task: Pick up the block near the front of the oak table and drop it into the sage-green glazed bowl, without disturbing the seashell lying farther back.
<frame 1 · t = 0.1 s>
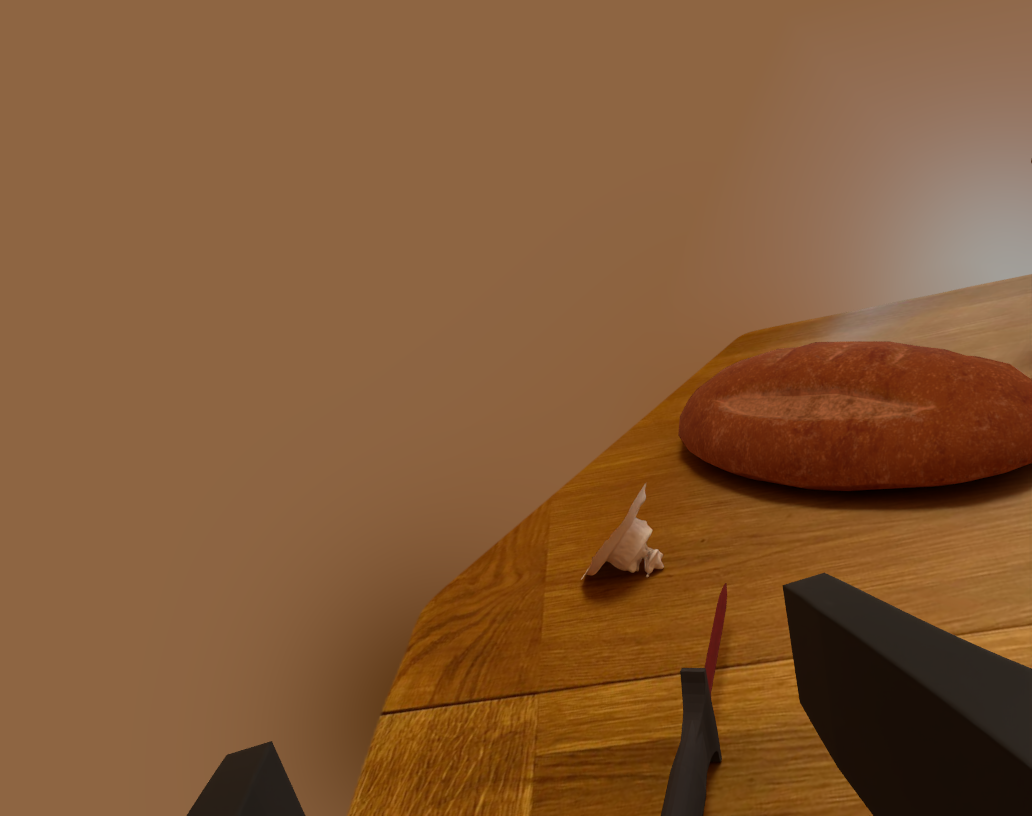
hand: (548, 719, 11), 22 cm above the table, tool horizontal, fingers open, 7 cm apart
knife: (710, 760, 39), on the table
bread: (849, 447, 70), on the table
seashell: (625, 572, 59), on the table
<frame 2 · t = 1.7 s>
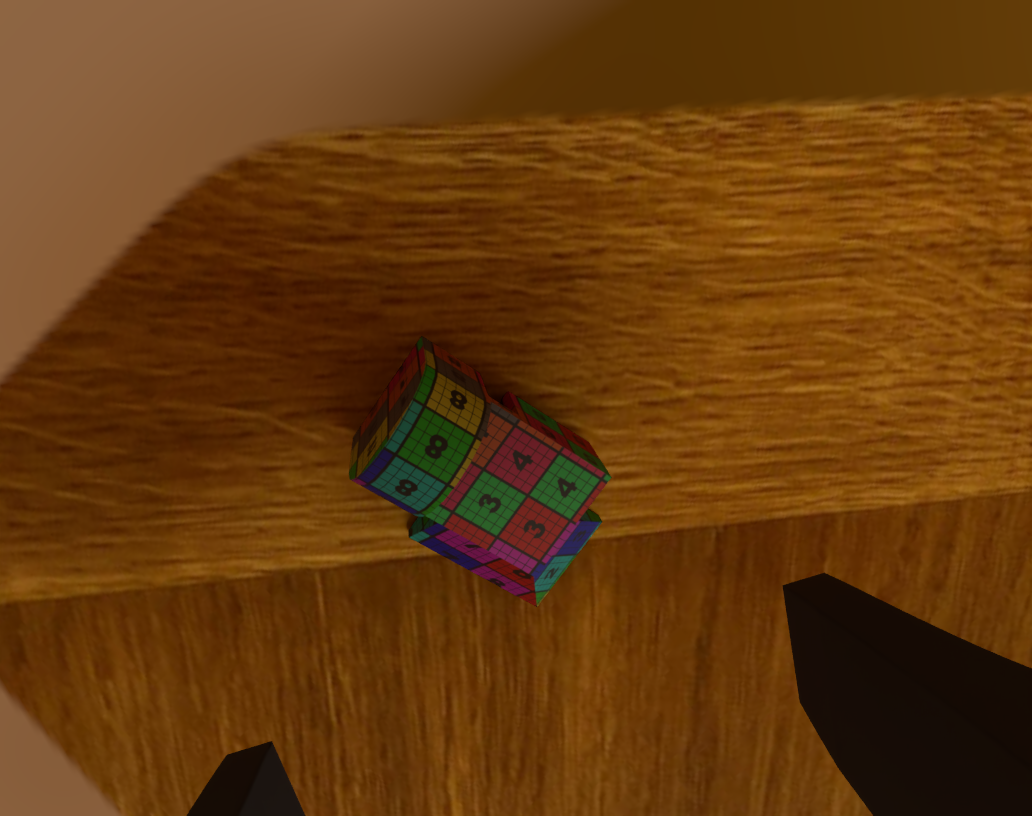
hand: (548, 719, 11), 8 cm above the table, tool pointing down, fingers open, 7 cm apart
block: (481, 473, 19), on the table
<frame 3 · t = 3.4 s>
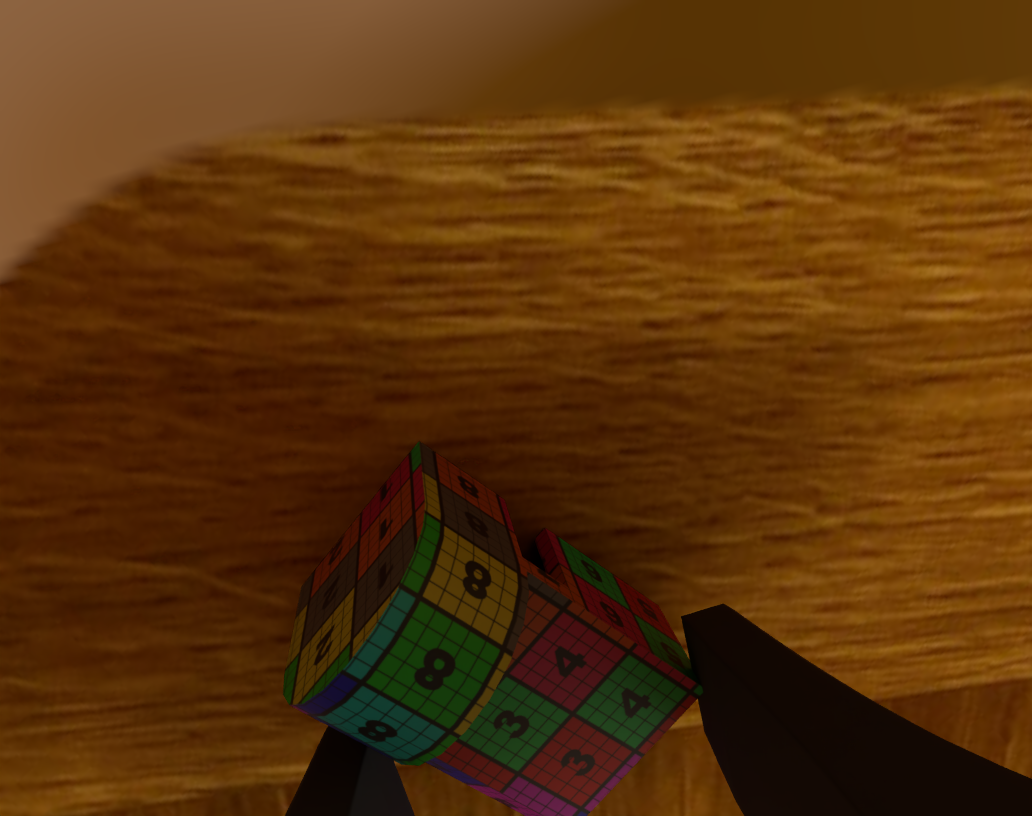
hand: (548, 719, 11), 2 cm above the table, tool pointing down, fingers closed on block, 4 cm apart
block: (493, 641, 13), on the table, touching gripper
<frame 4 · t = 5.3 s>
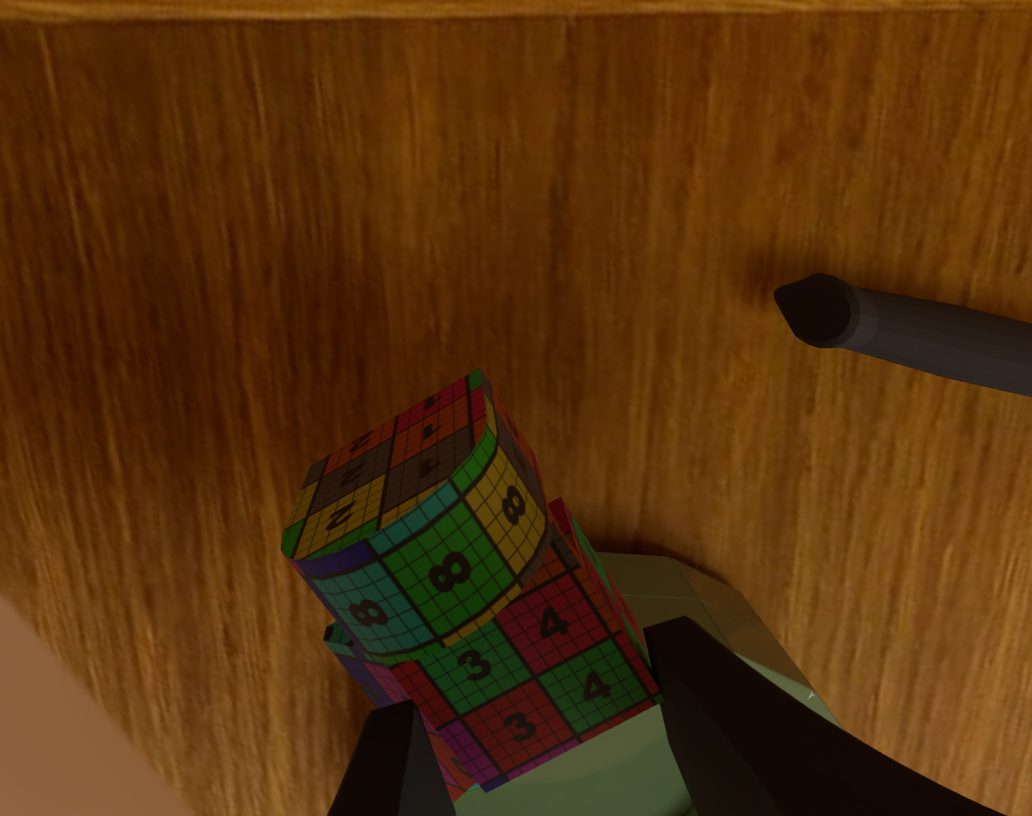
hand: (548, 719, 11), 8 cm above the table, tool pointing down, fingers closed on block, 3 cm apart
block: (465, 590, 12), point 6 cm above the table, touching gripper
bowl: (581, 724, 22), on the table
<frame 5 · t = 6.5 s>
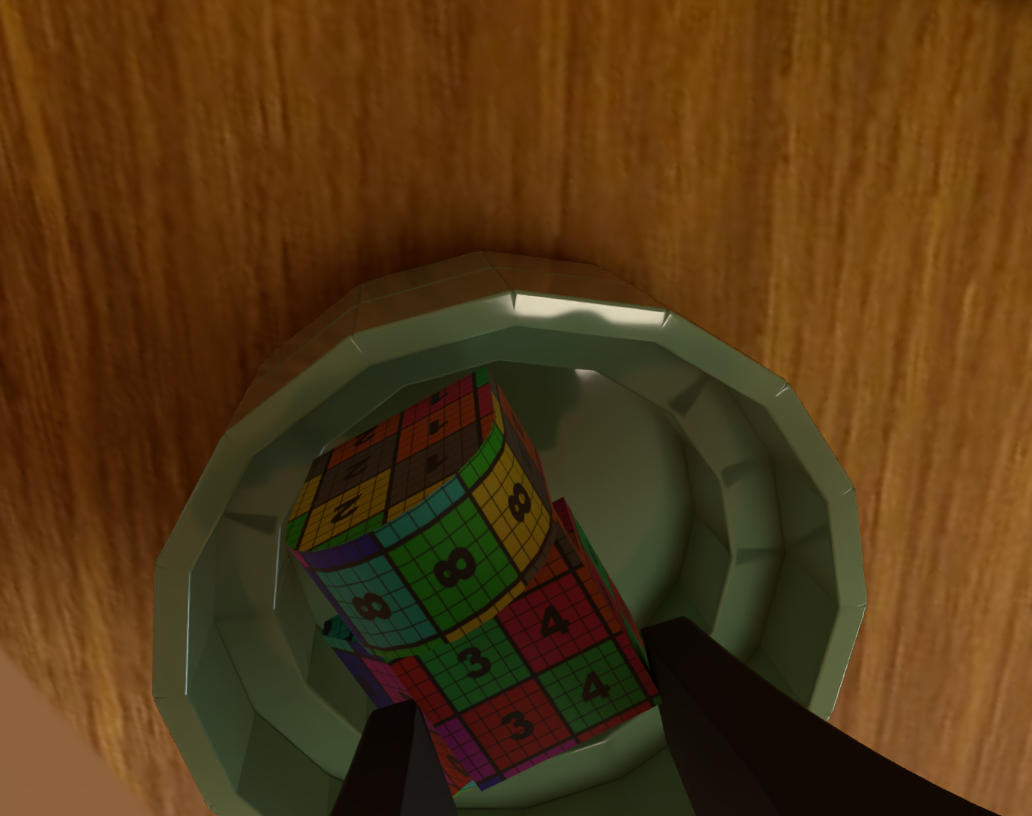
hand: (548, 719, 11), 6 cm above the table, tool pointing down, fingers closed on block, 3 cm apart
block: (465, 587, 12), point 4 cm above the table, touching gripper
bowl: (494, 518, 17), on the table
when the fingers open (4 cm above the table, at t = 7.3 s): block stays where it is, resting on bowl.
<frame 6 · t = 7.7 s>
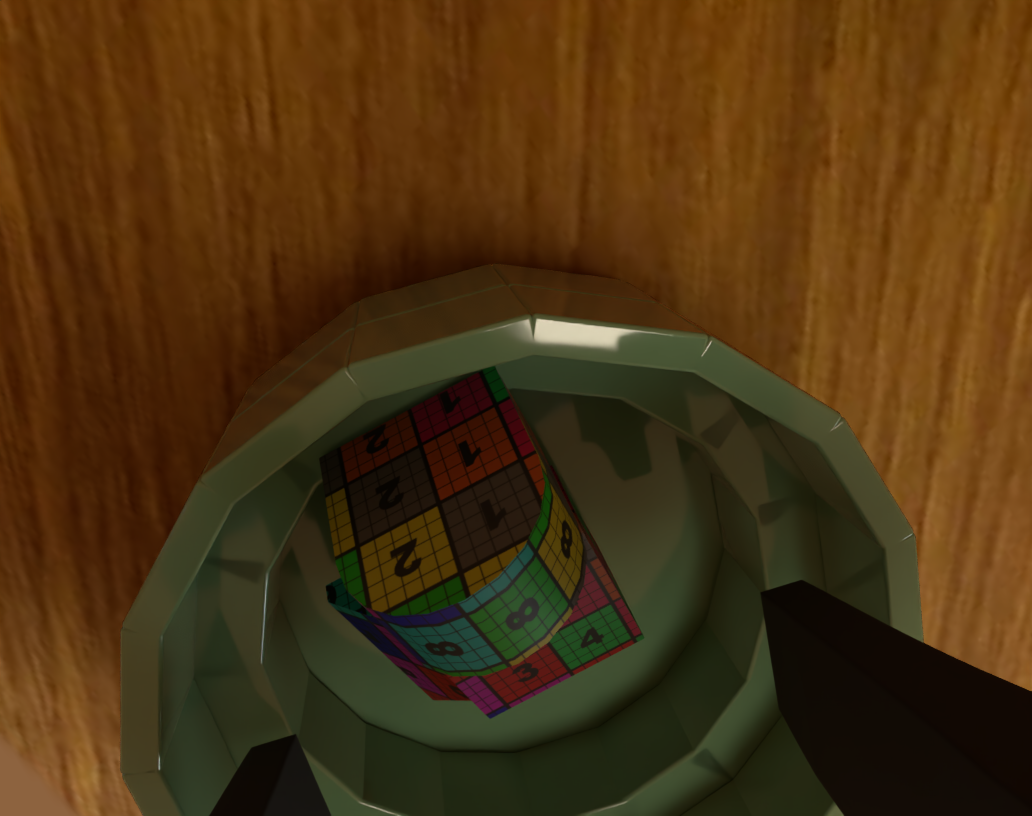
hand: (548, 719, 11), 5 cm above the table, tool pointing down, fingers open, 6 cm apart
block: (453, 540, 13), point 1 cm above the table, touching bowl
bowl: (504, 554, 15), on the table
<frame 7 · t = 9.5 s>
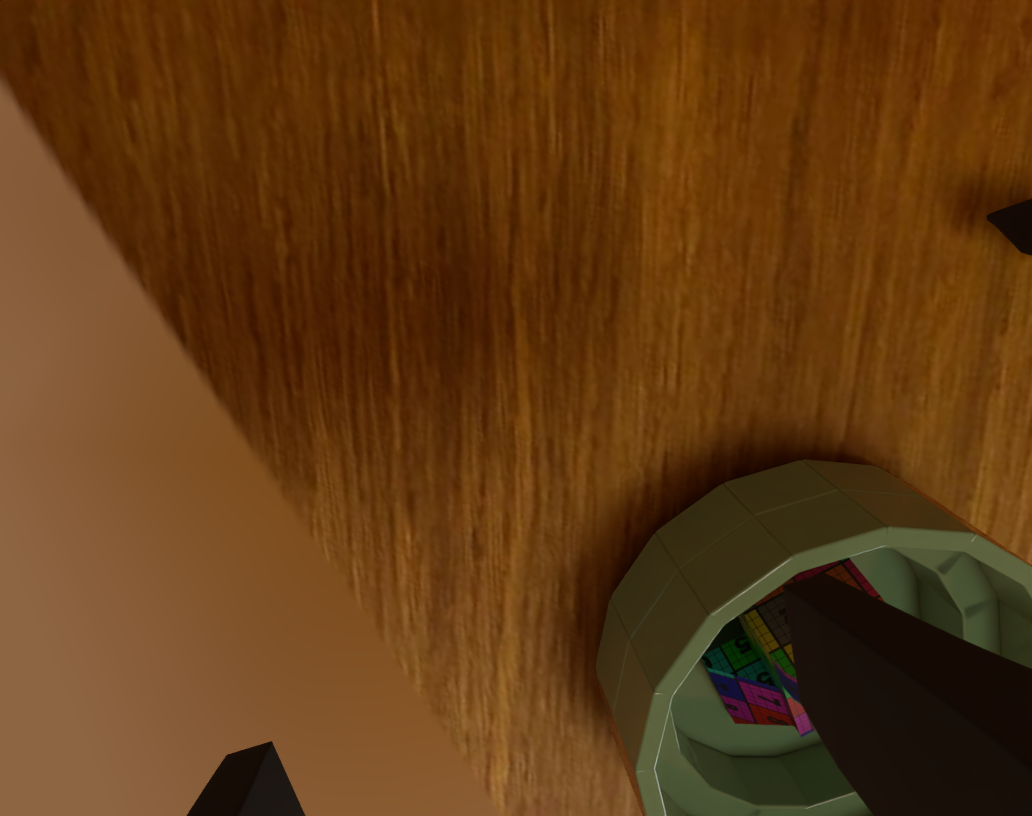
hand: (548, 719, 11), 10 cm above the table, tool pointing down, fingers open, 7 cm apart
block: (770, 626, 21), point 1 cm above the table, touching bowl
bowl: (777, 628, 23), on the table
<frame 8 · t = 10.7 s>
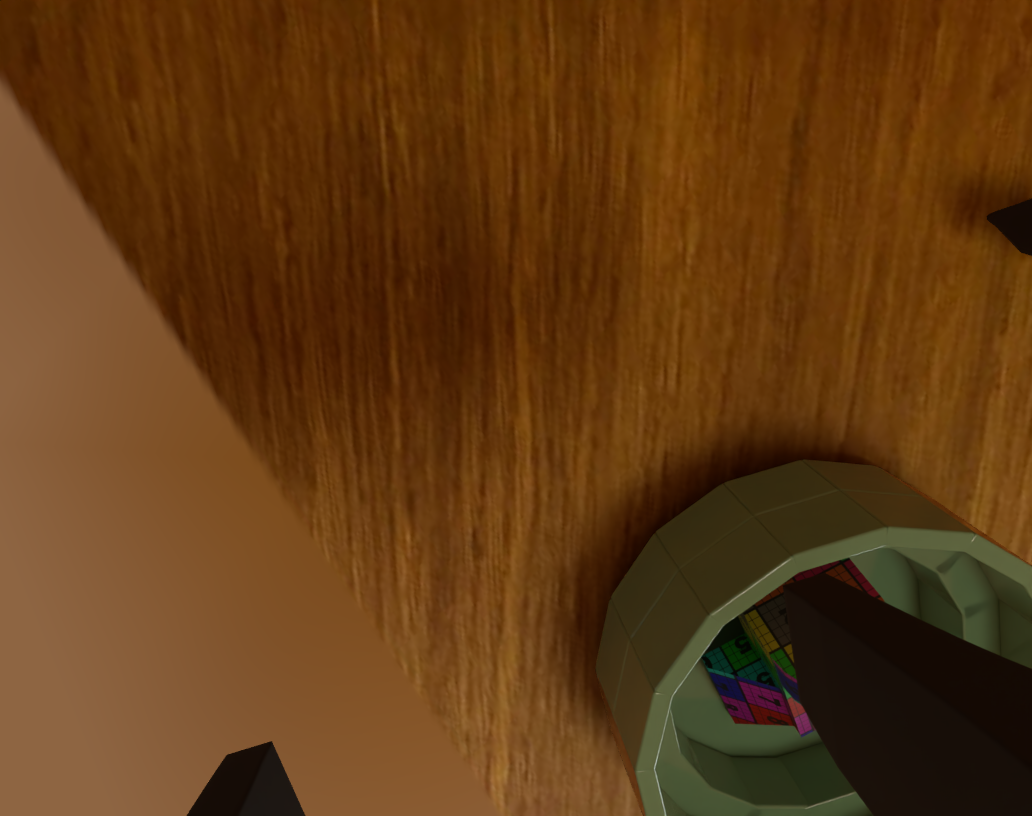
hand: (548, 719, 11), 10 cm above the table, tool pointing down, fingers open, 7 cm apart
block: (770, 626, 21), point 1 cm above the table, touching bowl
bowl: (777, 628, 23), on the table
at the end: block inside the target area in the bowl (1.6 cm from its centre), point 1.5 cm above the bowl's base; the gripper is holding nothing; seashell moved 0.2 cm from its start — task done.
